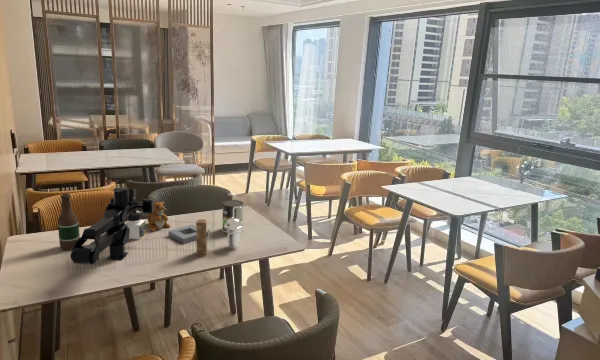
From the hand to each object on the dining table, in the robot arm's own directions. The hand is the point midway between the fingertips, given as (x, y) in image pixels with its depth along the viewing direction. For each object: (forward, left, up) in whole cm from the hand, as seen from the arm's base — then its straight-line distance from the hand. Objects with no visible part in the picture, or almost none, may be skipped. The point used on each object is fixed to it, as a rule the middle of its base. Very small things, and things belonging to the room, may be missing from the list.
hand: (139, 200), depth 197 cm
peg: (-20, -32, -17) cm, 42 cm away
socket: (-1, -22, -17) cm, 28 cm away
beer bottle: (-17, +25, -17) cm, 35 cm away
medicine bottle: (-3, +2, -17) cm, 17 cm away
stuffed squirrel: (+11, -4, -17) cm, 20 cm away
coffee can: (+9, -42, -17) cm, 46 cm away
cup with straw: (-12, -45, -17) cm, 50 cm away
